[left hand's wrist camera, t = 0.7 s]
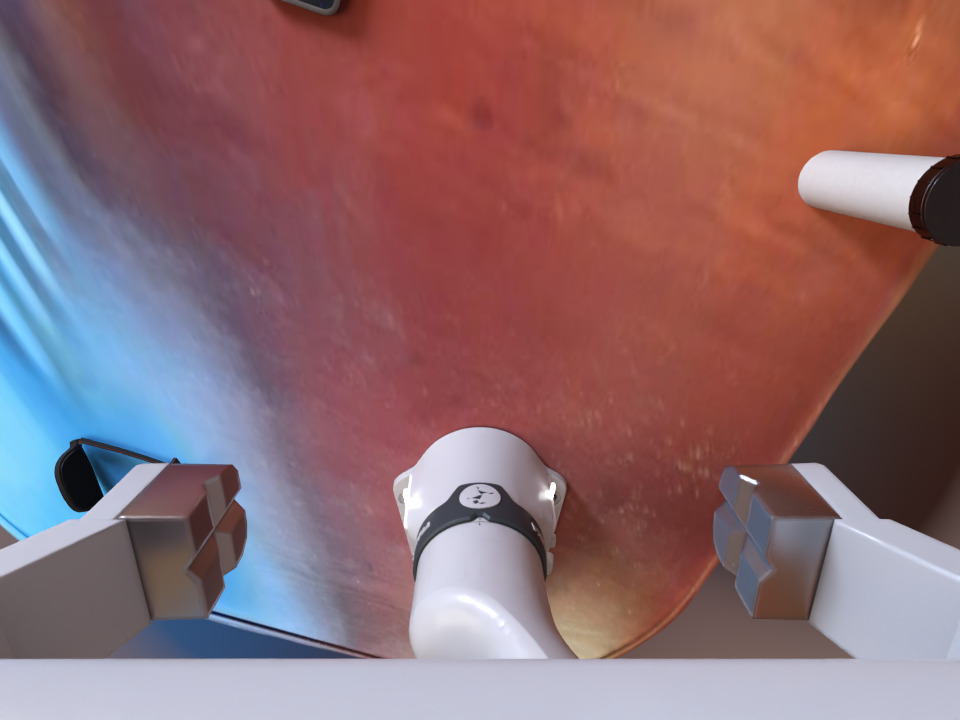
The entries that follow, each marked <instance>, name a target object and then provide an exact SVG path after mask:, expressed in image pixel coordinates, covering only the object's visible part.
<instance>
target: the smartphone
mask: <svg viewBox="0 0 960 720" xmlns="http://www.w3.org/2000/svg"><path fill="white" fill-rule="evenodd" d="M282 1H284V2H287V3H290V4H293V5H296V6H299V7H302V8H305V9H308V10H311V11H313V12H316V13H319V14H322V15H326V16H329V15H332V14H334V13H335V12H336V11H337V10H338V8H339V6H340V1H341V0H282Z"/></svg>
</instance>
